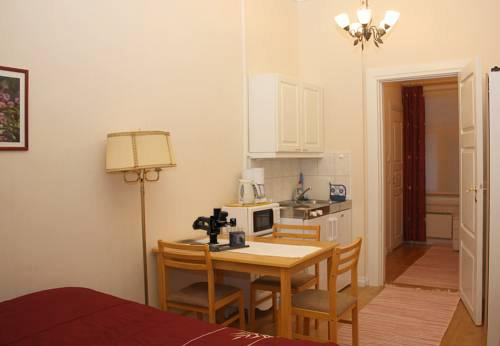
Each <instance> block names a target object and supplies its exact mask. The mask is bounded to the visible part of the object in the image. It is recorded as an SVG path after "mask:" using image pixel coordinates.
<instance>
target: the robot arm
mask: <svg viewBox="0 0 500 346" xmlns="http://www.w3.org/2000/svg"><path fill="white" fill-rule="evenodd" d="M228 217H229V212H228V211H225V210H222V208H221V207H217V208H216V207H214V208H213V212H212V215H210V216H209V217H208V216H207V217H206V216H198V217H197V218H196V219H195V220H194V221H193V224H192V225H191V226H192V229H193V230H194V231H197V230H198V231H199V230H202V231H206V232H205V233H206V236H209V242H207V244H211V245H218V244H220V242H219V241H218V236H220V235H221V229H222V228H227V226H229V227H230V228H236V227H237V218H236V217H231V218H229V221H228Z"/></svg>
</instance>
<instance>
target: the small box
mask: <svg viewBox="0 0 500 346" xmlns="http://www.w3.org/2000/svg"><path fill="white" fill-rule="evenodd" d="M228 242H229V243H228V244H229V246H228V247H236V246H244V245H246V232H245V231H243V230H241V231H228Z"/></svg>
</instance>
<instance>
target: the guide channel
mask: <svg viewBox="0 0 500 346" xmlns="http://www.w3.org/2000/svg"><path fill="white" fill-rule="evenodd" d="M207 244H208V245H209V249H210V250H209V251H212V252H215V253H219V252H226V251H233V250H240V249H245V248H246V249H247V248H250V244H245V245H244V246H236V247H230V246H229V243H222V244H209V243H207ZM223 247H224V248H223Z"/></svg>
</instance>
